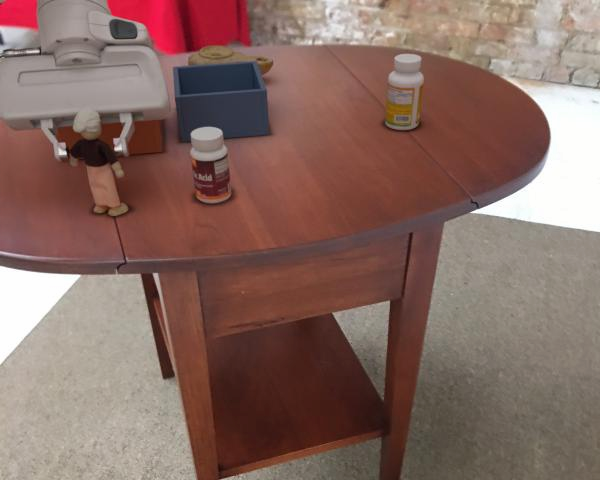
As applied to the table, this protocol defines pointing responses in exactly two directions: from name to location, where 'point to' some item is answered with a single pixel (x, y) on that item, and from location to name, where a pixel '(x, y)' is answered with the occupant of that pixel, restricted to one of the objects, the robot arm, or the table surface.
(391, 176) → the table surface
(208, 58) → the oil lamp
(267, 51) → the table surface
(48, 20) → the robot arm
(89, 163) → the grandmother figurine
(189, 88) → the slate bin
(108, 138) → the terracotta bin
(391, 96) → the supplement bottle
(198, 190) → the pill bottle
